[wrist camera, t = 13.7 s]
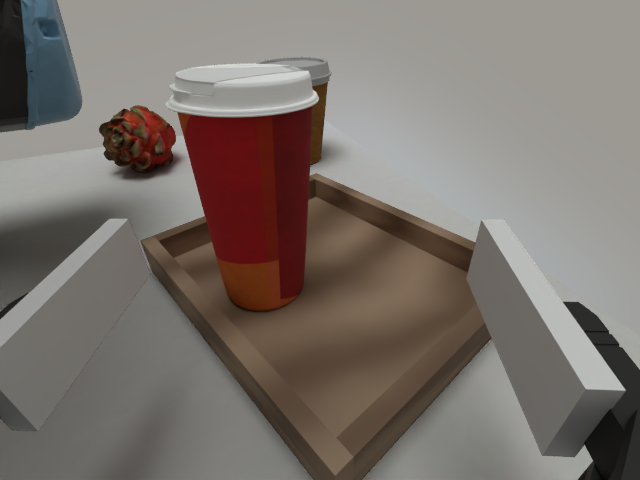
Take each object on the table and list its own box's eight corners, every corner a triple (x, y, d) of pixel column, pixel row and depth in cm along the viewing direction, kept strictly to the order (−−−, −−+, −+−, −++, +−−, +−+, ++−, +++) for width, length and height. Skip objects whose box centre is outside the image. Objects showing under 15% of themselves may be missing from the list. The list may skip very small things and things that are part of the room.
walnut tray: (152, 270, 29) (140, 240, 27) (317, 198, 39) (316, 173, 37) (335, 507, 15) (335, 476, 13) (523, 302, 25) (536, 269, 23)
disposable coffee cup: (300, 142, 54) (295, 55, 48) (346, 157, 49) (347, 60, 42) (249, 159, 49) (235, 64, 42) (294, 178, 43) (285, 71, 36)
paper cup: (290, 244, 30) (281, 59, 22) (338, 298, 24) (348, 75, 17) (197, 271, 27) (149, 66, 19) (226, 341, 21) (175, 90, 13)
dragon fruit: (137, 198, 44) (155, 174, 54) (185, 151, 43) (194, 136, 53) (72, 147, 40) (106, 131, 50) (123, 94, 39) (146, 89, 49)
